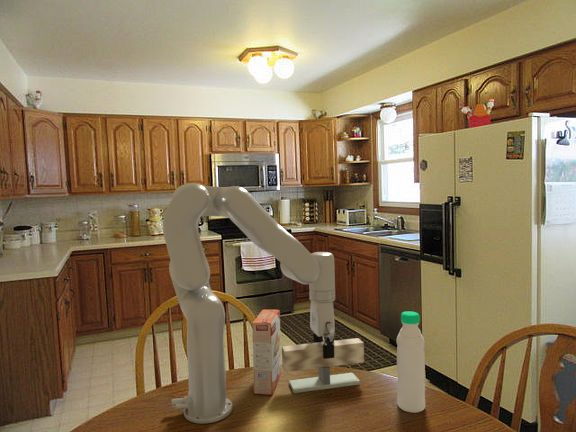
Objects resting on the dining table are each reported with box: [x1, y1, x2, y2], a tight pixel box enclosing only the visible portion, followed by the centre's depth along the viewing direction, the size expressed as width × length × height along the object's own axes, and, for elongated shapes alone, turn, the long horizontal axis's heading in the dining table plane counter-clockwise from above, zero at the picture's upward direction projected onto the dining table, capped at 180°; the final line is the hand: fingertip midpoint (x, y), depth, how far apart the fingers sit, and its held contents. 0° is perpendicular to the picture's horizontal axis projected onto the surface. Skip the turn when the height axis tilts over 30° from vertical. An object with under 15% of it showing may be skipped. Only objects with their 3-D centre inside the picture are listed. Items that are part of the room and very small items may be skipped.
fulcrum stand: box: [288, 367, 361, 394], centre depth 123 cm, size 20×6×6 cm, turn 102°
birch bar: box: [281, 337, 365, 373], centre depth 122 cm, size 24×4×6 cm, turn 102°
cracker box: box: [251, 309, 282, 396], centre depth 123 cm, size 14×6×21 cm, turn 171°
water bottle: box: [396, 311, 426, 414], centre depth 108 cm, size 7×7×25 cm
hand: (323, 351), depth 122 cm, fingers open, 9 cm apart
